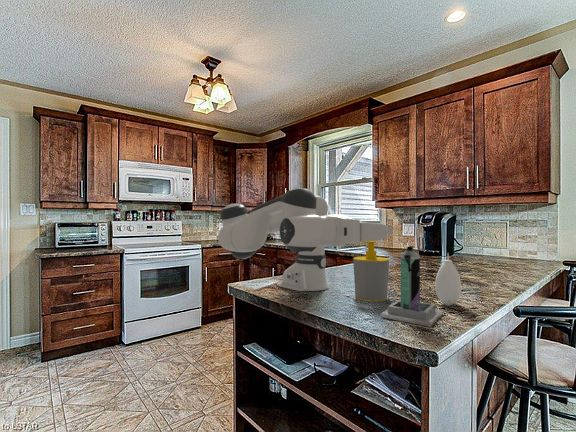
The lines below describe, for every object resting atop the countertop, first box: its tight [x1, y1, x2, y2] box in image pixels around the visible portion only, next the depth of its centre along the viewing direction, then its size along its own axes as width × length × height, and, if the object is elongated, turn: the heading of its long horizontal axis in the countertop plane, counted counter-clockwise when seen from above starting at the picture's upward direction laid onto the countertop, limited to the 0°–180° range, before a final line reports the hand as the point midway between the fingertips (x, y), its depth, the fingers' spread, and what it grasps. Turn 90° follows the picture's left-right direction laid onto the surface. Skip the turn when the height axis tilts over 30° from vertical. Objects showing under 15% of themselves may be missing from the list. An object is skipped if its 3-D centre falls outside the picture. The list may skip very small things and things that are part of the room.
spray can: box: [400, 245, 421, 311], centre depth 99 cm, size 6×6×20 cm
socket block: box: [380, 298, 443, 327], centre depth 100 cm, size 14×14×3 cm
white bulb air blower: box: [434, 252, 462, 306], centre depth 113 cm, size 8×8×18 cm
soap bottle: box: [352, 240, 390, 303], centre depth 122 cm, size 13×13×21 cm
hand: (381, 229), depth 95 cm, fingers open, 8 cm apart
